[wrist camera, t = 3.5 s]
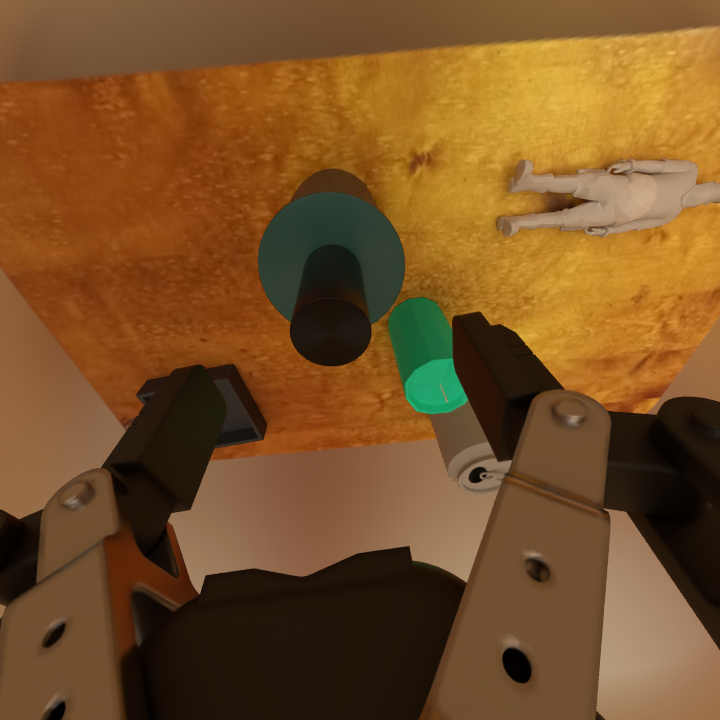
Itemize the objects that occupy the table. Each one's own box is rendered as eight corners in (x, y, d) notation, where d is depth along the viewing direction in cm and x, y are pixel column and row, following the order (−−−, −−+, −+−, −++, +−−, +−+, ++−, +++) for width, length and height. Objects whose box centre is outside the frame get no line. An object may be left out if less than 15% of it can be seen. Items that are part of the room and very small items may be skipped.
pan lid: (288, 336, 20) (269, 421, 14) (238, 206, 15) (179, 254, 10) (407, 313, 19) (437, 390, 14) (392, 172, 15) (427, 200, 9)
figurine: (524, 161, 22) (803, 131, 21) (505, 152, 25) (747, 125, 24) (504, 258, 27) (730, 238, 26) (489, 240, 30) (691, 222, 29)
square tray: (192, 438, 42) (185, 453, 40) (146, 380, 36) (135, 395, 34) (267, 424, 42) (263, 440, 40) (233, 363, 35) (227, 378, 33)
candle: (415, 354, 36) (444, 437, 26) (376, 328, 34) (392, 408, 24) (454, 317, 33) (502, 394, 24) (414, 285, 31) (450, 357, 21)
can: (425, 377, 38) (454, 461, 29) (486, 370, 38) (537, 451, 28) (424, 419, 43) (450, 504, 33) (479, 412, 43) (521, 495, 33)
